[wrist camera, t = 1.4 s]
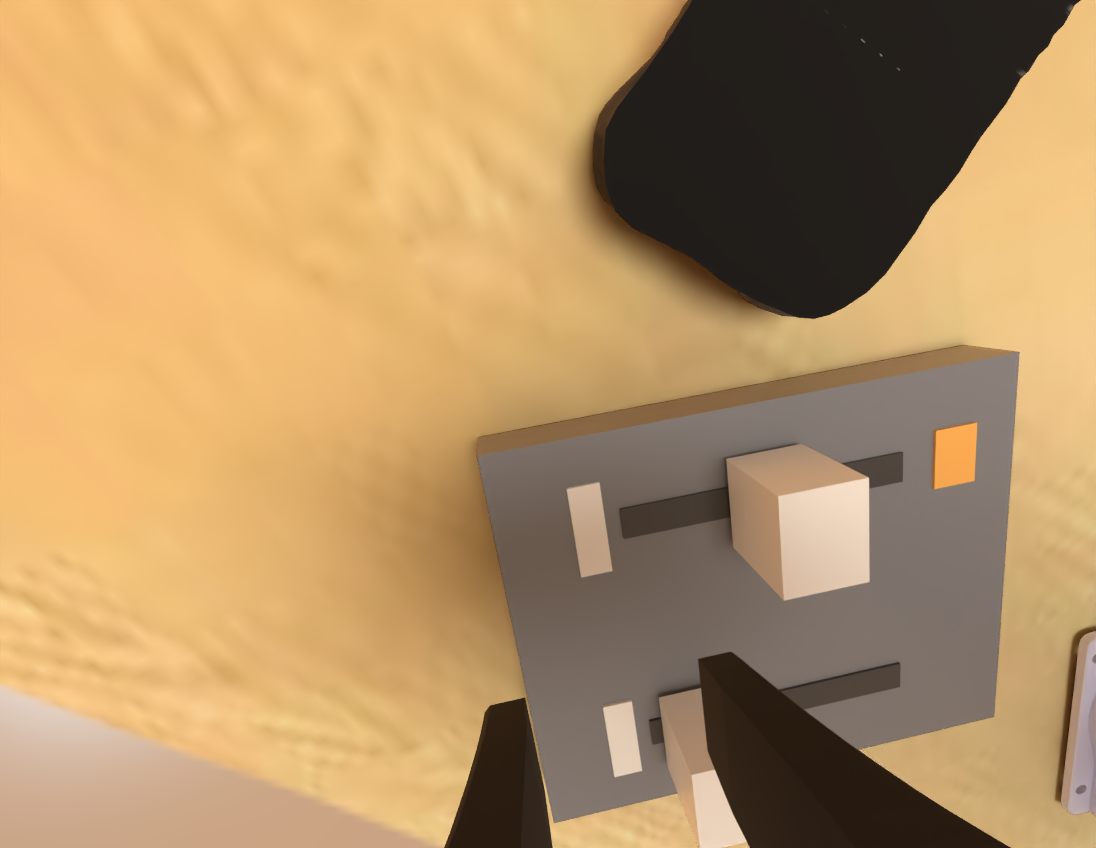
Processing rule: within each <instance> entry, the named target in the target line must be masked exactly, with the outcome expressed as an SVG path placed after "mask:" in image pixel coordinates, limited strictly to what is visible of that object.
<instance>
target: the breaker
mask: <svg viewBox="0 0 1096 848" xmlns="http://www.w3.org/2000/svg"><path fill="white" fill-rule="evenodd" d="M659 705H660V712H661V720H662V727H663V735H664V743H665V750H666V758H667V765H668V769H669V772H670V775H671V777H672V780H673V782H674V785H675V788H676V790H677V793H678V795H679V798H680V801H681V803H682V806H683V809H684V811H685V814H686V816H687V819H688V822H689V824H690V827H691V830H692V832H693V835H694V837H695V840H696V843H697V845H698V848H725V847H729V846H733V845H737V844H741V843H745V842H747V841H746V839H745V837H744V835H743V833H742V831H741V829H740V827H739V825H738V823H737V821H736V819H735V817H734V815H733V813H732V811H731V808H730V806H729V803H728V801H727V799H726V796H725V794H724V791H723V789H722V786H721V784H720V781H719V779H718V776H717V774H716V771H715V769H714V766H713V764H712V761H711V759H710V756H709V754H708V750H707V741H706V731H705V722H704V712H703V703H702V694H701V688H698V689H694V690H690V691H685V692H681V693H677V694H672V695H668V696H663V697H659Z"/></svg>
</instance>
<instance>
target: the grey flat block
mask: <svg viewBox="0 0 1096 848" xmlns="http://www.w3.org/2000/svg"><path fill="white" fill-rule="evenodd" d="M1018 366H1019V352H1015V351H1008V350H1000V349H992V348H984V347H976V346H968V345H962V346H957V347H951V348H946V349H941V350H935V351H930V352H925V353H920V354H914V355H909V356H904V357H899V358H893V359H888V360H883V361H878V362H872V363H867V364H862V365H856V366H851V367H846V368H841V369H835V370H830V371H825V372H820V373H814V374H809V375H804V376H798V377H793V378H788V379H783V380H777V381H772V382H767V383H762V384H756V385H751V386H746V387H741V388H735V389H730V390H725V391H719V392H714V393H709V394H704V395H698V396H693V397H688V398H683V399H677V400H672V401H667V402H661V403H656V404H651V405H646V406H640V407H635V408H630V409H625V410H619V411H614V412H609V413H603V414H598V415H593V416H588V417H582V418H577V419H572V420H567V421H561V422H556V423H551V424H546V425H540V426H535V427H530V428H524V429H519V430H514V431H509V432H503V433H498V434H493V435H488V436H482V437H478V439H477V459H478V464H479V469H480V474H481V478H482V483H483V488H484V493H485V497H486V502H487V507H488V512H489V516H490V521H491V526H492V531H493V535H494V540H495V545H496V550H497V555H498V559H499V564H500V569H501V574H502V578H503V583H504V588H505V593H506V597H507V602H508V607H509V612H510V616H511V621H512V626H513V631H514V635H515V640H516V645H517V650H518V654H519V659H520V664H521V669H522V673H523V678H524V683H525V688H526V692H527V697H528V702H529V707H530V712H531V716H532V721H533V726H534V731H535V735H536V740H537V745H538V750H539V754H540V759H541V764H542V769H543V773H544V778H545V783H546V788H547V792H548V797H549V802H550V807H551V811H552V816H553V821H554V823H557V822H561V821H565V820H569V819H573V818H577V817H581V816H586V815H590V814H594V813H598V812H602V811H606V810H610V809H615V808H619V807H623V806H627V805H631V804H635V803H639V802H643V801H648V800H652V799H656V798H660V797H664V796H668V795H672V794H677V790H676V788H675V785H674V782H673V780H672V777H671V775H670V772H669V769H668V765H667V758H666V750H665V743H664V735H663V727H662V720H661V712H660V705H659V697H663V696H668V695H672V694H677V693H681V692H685V691H690V690H694V689H698V688H701V684H700V675H699V665H698V659H700V658H704V657H708V656H713V655H717V654H722V653H726V652H733V653H734V654H735V655H737V656H738V657H739V658H741V659H742V660H743V661H744V662H746V663H747V664H748V665H749V666H750V667H752V668H753V669H754V670H755V671H756V672H758V673H759V674H760V675H761V676H763V677H764V678H765V679H766V680H767V681H769V682H770V683H771V684H772V685H774V686H775V687H776V688H777V689H779V690H780V691H781V692H782V693H784V694H785V695H786V696H787V697H789V698H790V699H791V700H792V701H794V702H795V703H796V704H797V705H799V706H800V707H801V708H803V709H804V710H805V711H806V712H808V713H809V714H810V715H812V716H813V717H814V718H816V719H817V720H818V721H820V722H821V723H822V724H824V725H825V726H826V727H828V728H829V729H830V730H832V731H833V732H834V733H836V734H837V735H838V736H840V737H841V738H842V739H844V740H845V741H846V742H848V743H849V744H850V745H852V746H853V747H855V748H856V749H857V750H859V749H863V748H867V747H871V746H875V745H879V744H884V743H888V742H892V741H896V740H900V739H904V738H908V737H913V736H917V735H921V734H925V733H929V732H933V731H937V730H942V729H946V728H950V727H954V726H958V725H962V724H966V723H970V722H975V721H979V720H983V719H987V718H991V717H994V711H995V696H996V682H997V668H998V653H999V639H1000V625H1001V610H1002V596H1003V582H1004V567H1005V553H1006V539H1007V524H1008V510H1009V496H1010V481H1011V467H1012V453H1013V438H1014V424H1015V409H1016V395H1017V381H1018ZM798 444H803V445H805V446H807V447H809V448H811V449H813V450H815V451H817V452H819V453H821V454H823V455H825V456H827V457H829V458H831V459H833V460H835V461H837V462H839V463H841V464H843V465H845V466H847V467H849V468H851V469H853V470H855V471H857V472H859V473H861V474H863V475H865V476H867V477H869V573H870V582H867V583H863V584H858V585H854V586H849V587H844V588H840V589H835V590H831V591H826V592H822V593H817V594H812V595H808V596H803V597H799V598H794V599H790V600H785V601H784V600H783V599H782V598H781V597H780V596H779V595H778V594H777V593H776V592H775V591H774V590H773V589H772V588H771V587H770V586H769V585H768V584H767V583H766V581H765V580H764V579H763V578H762V577H761V576H760V575H759V574H758V573H757V572H756V571H755V570H754V569H753V568H752V567H751V566H750V565H749V564H748V562H747V561H746V560H745V559H744V558H743V557H742V556H741V555H740V554H739V553H738V552H737V551H736V550H735V549H734V548H733V538H732V526H731V513H730V501H729V488H728V476H727V463H726V459H728V458H733V457H738V456H743V455H748V454H753V453H758V452H763V451H768V450H773V449H778V448H783V447H788V446H793V445H798Z"/></svg>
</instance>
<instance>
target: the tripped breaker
mask: <svg viewBox="0 0 1096 848" xmlns="http://www.w3.org/2000/svg"><path fill="white" fill-rule="evenodd" d="M726 463H727V476H728V488H729V501H730V513H731V526H732V538H733V548H734V549H735V550H736V551H737V552H738V553H739V554H740V555H741V556H742V557H743V558H744V559H745V560H746V561H747V562H748V564H749V565H750V566H751V567H752V568H753V569H754V570H755V571H756V572H757V573H758V574H759V575H760V576H761V577H762V578H763V579H764V580H765V581H766V583H767V584H768V585H769V586H770V587H771V588H772V589H773V590H774V591H775V592H776V593H777V594H778V595H779V596H780V597H781V598H782V599H783V600H784V601H785V600H790V599H794V598H799V597H803V596H808V595H812V594H817V593H822V592H826V591H831V590H835V589H840V588H844V587H849V586H854V585H858V584H863V583H867V582H870V573H869V477H867V476H865V475H863V474H861V473H859V472H857V471H855V470H853V469H851V468H849V467H847V466H845V465H843V464H841V463H839V462H837V461H835V460H833V459H831V458H829V457H827V456H825V455H823V454H821V453H819V452H817V451H815V450H813V449H811V448H809V447H807V446H805V445H803V444H798V445H793V446H788V447H783V448H778V449H773V450H768V451H763V452H758V453H753V454H748V455H743V456H738V457H733V458H728V459H726Z"/></svg>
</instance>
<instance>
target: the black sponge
mask: <svg viewBox="0 0 1096 848" xmlns="http://www.w3.org/2000/svg"><path fill="white" fill-rule="evenodd" d="M1079 1H1080V0H688V1H687V2H686V4H685V5H684V7H683V8H682V10H681V12H680V14H679V16H678V17H677V19H676V20H675V22H674V23H673V25H672V26H671V27H670V29H669V30H668V32H667V34H666V36H665V39H664V41H663V42H662V44H661V45H660V46H659V48H658V49H657V51H656V52H655V53H654V55H653V56H652V57H651V59H650V60H649V61H647V62H646V63H645V64H644V65H643V66H642V67H641V68H640V69H639V70H638V71H637V72H636V73H635V74H634V75H633V76H632V77H631V78H630V79H629V80H628V81H627V82H626V83H625V84H624V85H623V86H622V87H621V88H620V89H619V90H618V91H617V92H616V93H615V94H614V96H613V97H612V98H611V99H610V100H609V101H608V103H607V104H606V105H605V106H604V108H603V110H602V111H601V113H600V115H599V118H598V122H597V126H596V129H595V135H594V144H593V168H594V174H595V180H596V185H597V188H598V190H599V191H600V193H601V195H602V197H603V198H604V200H605V201H606V202H607V203H609V204H610V205H611V206H612V207H614V209H615V211H616V212H617V213H618V214H619V215H620V216H621V217H622V218H623V219H624V220H625V221H626V222H627V223H628V224H629V225H630V226H631V227H632V228H634V229H636V230H638V231H640V232H642V233H644V234H646V235H648V236H650V237H652V238H654V239H656V240H658V241H660V242H662V243H664V244H666V245H668V246H670V247H672V248H673V249H675V250H677V251H679V252H680V253H682V254H684V255H686V256H688V257H689V258H691V259H693V260H695V261H696V262H697V263H699V264H700V265H702V266H703V267H704V268H706V269H707V270H708V271H710V272H711V273H712V274H714V275H715V276H716V277H718V278H719V279H720V280H722V281H723V282H724V283H726V284H727V285H728V286H730V287H731V288H733V289H735V290H737V292H738V293H739V294H740V295H741V296H742V297H743V298H744V299H745V300H746V301H748V302H749V303H751V304H753V305H755V306H757V307H758V308H761V309H764V310H767V311H770V312H772V313H775V314H778V315H781V316H792V317H798V318H811V319H815V318H819V317H823V316H827V315H830V314H832V313H834V312H836V311H838V310H840V309H842V308H844V307H846V306H847V305H849V304H850V303H852V302H853V301H855V300H856V299H858V298H859V297H861V296H862V295H864V294H865V293H867V292H868V291H869V290H870V289H871V288H872V287H873V286H874V285H875V284H876V283H877V282H878V281H879V280H880V279H881V278H882V277H883V276H884V275H885V274H886V273H887V271H888V270H889V268H890V267H891V266H892V264H893V263H894V261H895V260H896V259H897V257H898V256H899V255H900V253H901V252H902V250H903V249H904V248H905V246H906V245H907V243H908V242H909V241H910V239H911V238H912V236H913V235H914V234H915V232H916V231H917V229H918V227H919V226H920V224H921V222H922V220H923V219H924V217H925V215H926V214H927V212H928V210H929V209H930V207H931V205H932V204H933V203H934V202H935V201H936V200H937V199H938V198H939V197H940V196H941V194H942V193H943V192H944V191H945V190H946V189H947V187H948V186H949V185H950V183H951V182H952V181H953V179H954V178H955V177H956V176H957V174H958V173H959V172H960V170H961V168H962V167H963V165H964V163H965V162H966V160H967V158H968V156H969V155H970V153H971V151H972V150H973V148H974V147H975V145H976V144H977V142H978V141H979V139H980V137H981V136H982V135H983V133H984V132H985V131H986V129H987V128H988V127H989V125H990V124H991V123H992V121H993V120H994V119H995V118H996V116H997V115H998V114H999V112H1000V111H1001V110H1002V108H1003V107H1004V106H1005V104H1006V103H1007V101H1008V99H1009V98H1010V96H1011V94H1012V93H1013V91H1014V89H1015V87H1016V86H1017V84H1018V82H1019V81H1020V79H1021V78H1022V77H1023V76H1024V75H1025V74H1026V73H1027V72H1028V71H1029V70H1030V68H1031V66H1032V65H1033V63H1034V62H1035V60H1036V58H1037V57H1038V55H1039V54H1040V53H1041V52H1042V51H1044V50H1045V49H1046V48H1047V47H1048V45H1049V43H1050V41H1051V39H1052V37H1053V35H1054V34H1055V33H1056V32H1057V31H1058V30H1059V29H1060V28H1061V27H1062V26H1063V25H1064V23H1065V21H1066V20H1067V18H1068V16H1069V14H1070V12H1071V11H1072V9H1073V7H1074V5H1075V4H1077V3H1078V2H1079Z"/></svg>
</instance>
